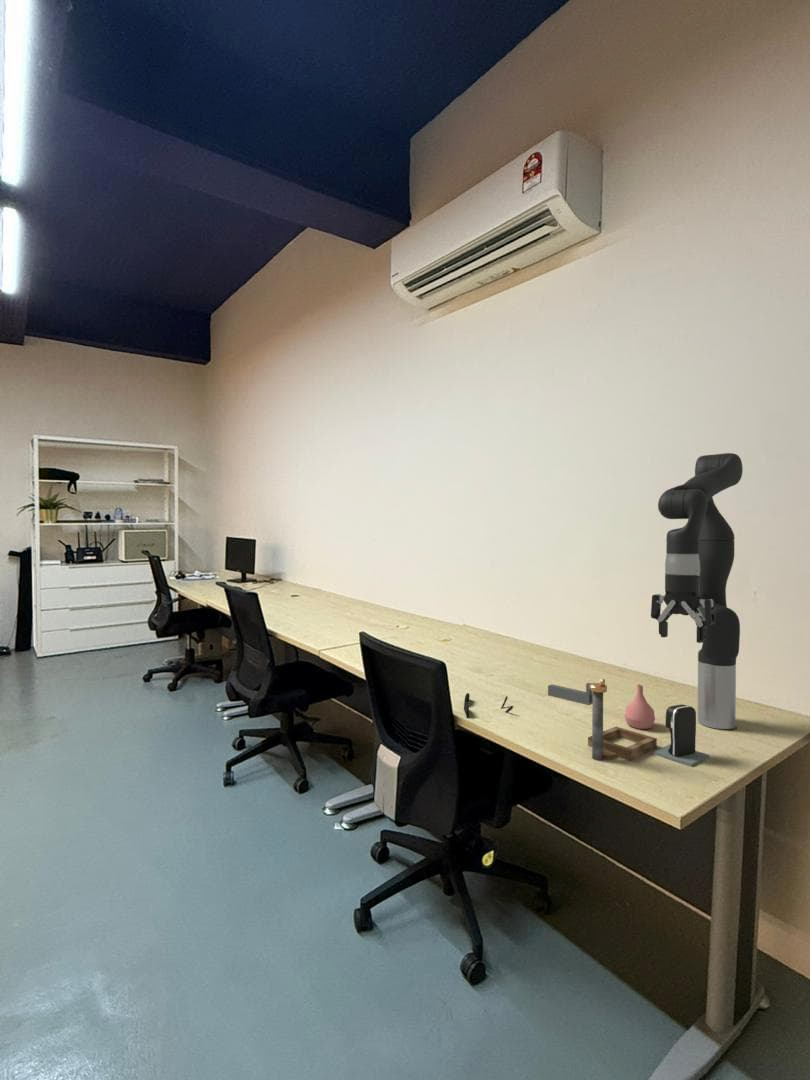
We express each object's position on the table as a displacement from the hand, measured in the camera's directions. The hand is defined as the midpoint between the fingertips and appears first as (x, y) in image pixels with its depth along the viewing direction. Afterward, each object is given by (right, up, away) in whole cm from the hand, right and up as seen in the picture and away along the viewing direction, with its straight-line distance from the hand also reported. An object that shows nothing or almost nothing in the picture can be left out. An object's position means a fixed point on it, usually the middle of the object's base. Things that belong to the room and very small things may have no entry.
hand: (681, 639), depth 133 cm
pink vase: (-2, -28, +19) cm, 34 cm away
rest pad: (0, -28, 0) cm, 28 cm away
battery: (0, -28, 0) cm, 28 cm away
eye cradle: (-15, -28, +3) cm, 32 cm away
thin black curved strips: (-42, -28, +30) cm, 59 cm away
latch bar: (-25, -15, +2) cm, 29 cm away
